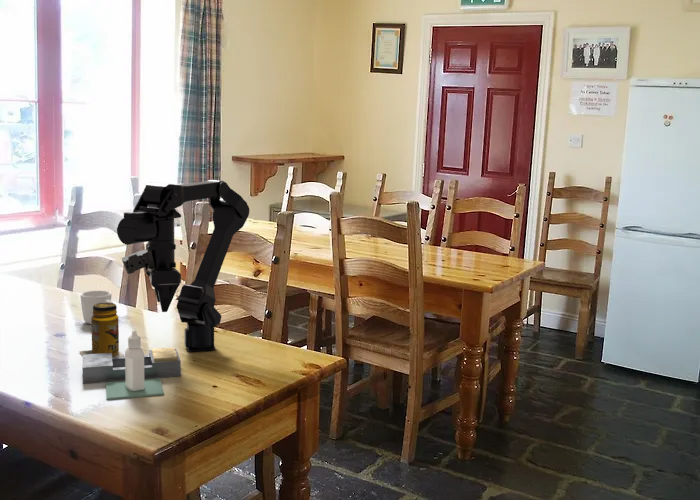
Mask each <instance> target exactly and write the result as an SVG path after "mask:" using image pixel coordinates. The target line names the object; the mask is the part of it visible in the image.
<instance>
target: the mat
mask: <svg viewBox="0 0 700 500" xmlns="http://www.w3.org/2000/svg"><path fill="white" fill-rule="evenodd" d="M163 388H164V387H163V385H162V381H161V378H151V379H144V389H143V390H140V391H131V390H129V389H127V388H126V383H125V381H112V382H105V395H106V401H112V400H121V399H133V398H144V397H145V398H146V397H147V398H148V397H157V396H158V397H159V396H165V391H164V389H163Z"/></svg>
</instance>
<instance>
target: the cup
mask: <svg viewBox="0 0 700 500" xmlns="http://www.w3.org/2000/svg"><path fill="white" fill-rule="evenodd" d="M79 295H80V305H81V311H82V318H83V321H84V323H86V324H90V325H91V318H92V316H93V306H94V305H95V304H98V303H114V302H113V301H112V292H111V291H109V290H108V291H107V290H88V291H84V292H81V293H80V294H79Z"/></svg>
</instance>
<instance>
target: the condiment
mask: <svg viewBox="0 0 700 500" xmlns="http://www.w3.org/2000/svg"><path fill="white" fill-rule="evenodd" d="M117 307H118V306H117V304H115V303H114V302H113V303H98V304H95V305H94V306H93V316H92V318H91V324H90V325H91V328H90V329H91V349H90V350H80V351H78V352H79V354H80V355H81V356H82V357H83V355H84V354H99V353H112V357H120V356H125V354H123V353H122V352H121V351H120V344H119V343H120V339H119V338H120V335H119V334H120V333H119V332H120V331H119V327H120V326H119V321H120V320H119V315H118V314H117V313H118V311H117V309H118V308H117Z"/></svg>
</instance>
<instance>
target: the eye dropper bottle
mask: <svg viewBox="0 0 700 500" xmlns="http://www.w3.org/2000/svg"><path fill="white" fill-rule="evenodd" d="M141 338H142V337H141V336H140V335H138V334H137V330H135V329H134V330H132V331H131V336H130V335H129V336H128V338H127V341H128V342H127V343H128V344H127V348H126V349H125V351H124V356H125V383H126V388H127V389H129V390H131V391H140V390H143V389H144V380H145V379H144V355H145V353H144V350H143V348H142V344H141V341H142V340H141Z"/></svg>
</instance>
